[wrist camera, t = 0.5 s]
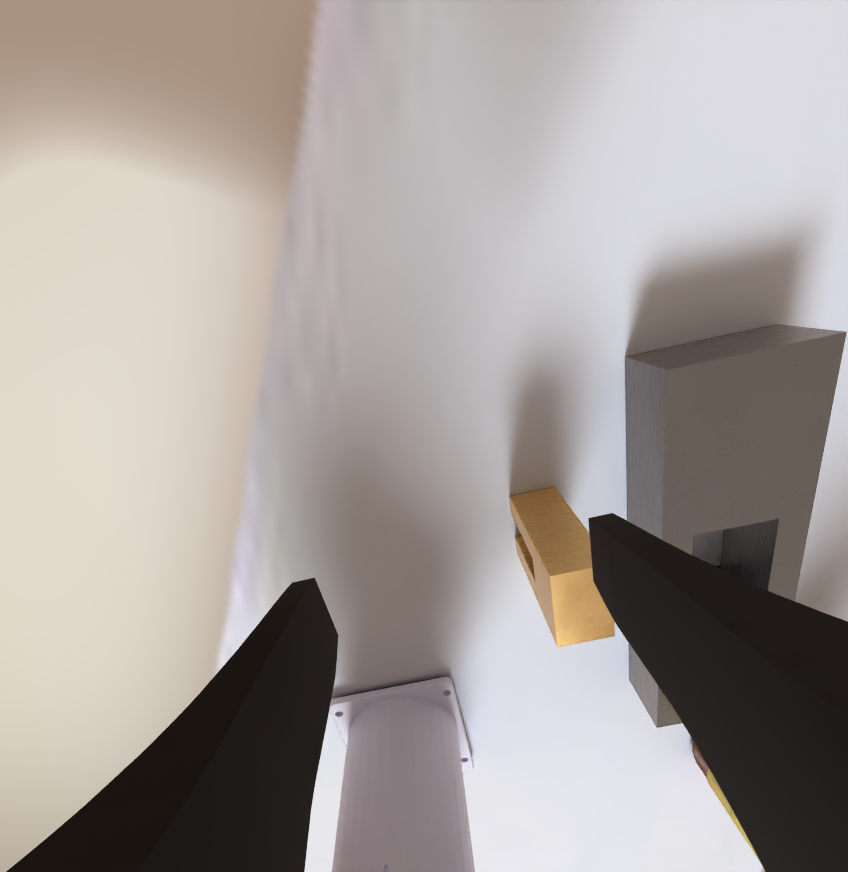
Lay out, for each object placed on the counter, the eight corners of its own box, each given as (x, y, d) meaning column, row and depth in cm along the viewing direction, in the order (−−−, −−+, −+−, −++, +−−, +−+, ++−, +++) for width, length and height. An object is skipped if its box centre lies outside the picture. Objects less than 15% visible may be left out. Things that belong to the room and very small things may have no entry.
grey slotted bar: (734, 660, 26) (774, 705, 23) (629, 680, 26) (656, 727, 23) (777, 324, 18) (846, 331, 15) (625, 356, 18) (666, 370, 15)
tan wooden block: (559, 545, 22) (614, 635, 16) (517, 554, 22) (557, 647, 16) (554, 487, 20) (612, 563, 15) (509, 496, 20) (549, 576, 15)
